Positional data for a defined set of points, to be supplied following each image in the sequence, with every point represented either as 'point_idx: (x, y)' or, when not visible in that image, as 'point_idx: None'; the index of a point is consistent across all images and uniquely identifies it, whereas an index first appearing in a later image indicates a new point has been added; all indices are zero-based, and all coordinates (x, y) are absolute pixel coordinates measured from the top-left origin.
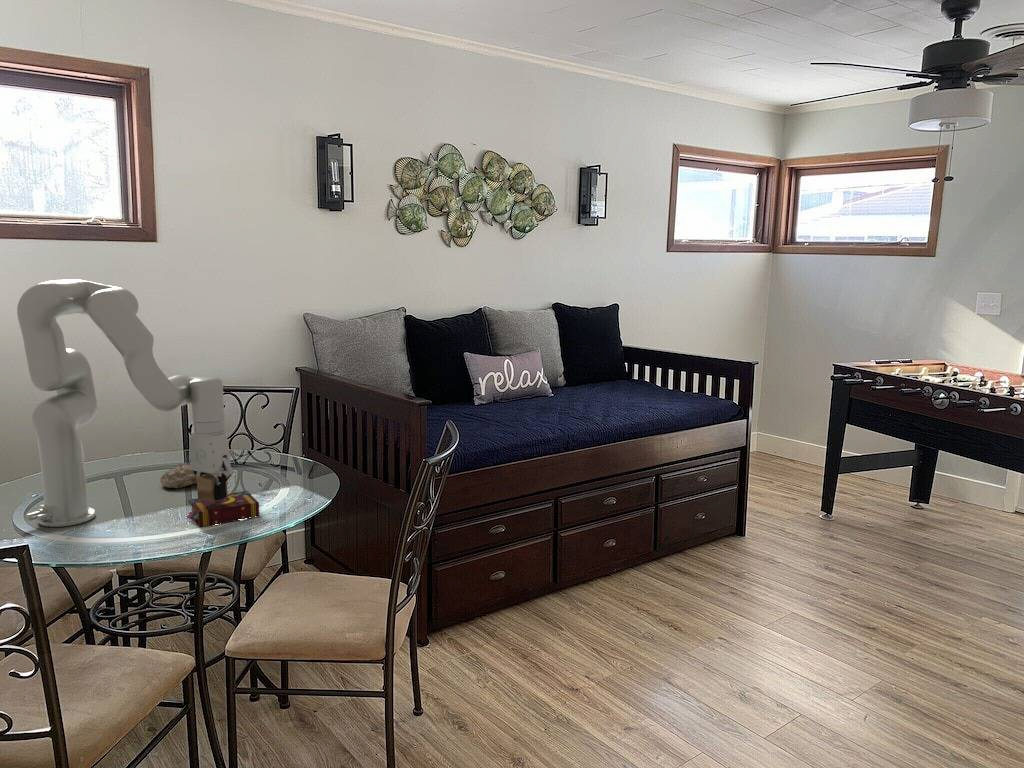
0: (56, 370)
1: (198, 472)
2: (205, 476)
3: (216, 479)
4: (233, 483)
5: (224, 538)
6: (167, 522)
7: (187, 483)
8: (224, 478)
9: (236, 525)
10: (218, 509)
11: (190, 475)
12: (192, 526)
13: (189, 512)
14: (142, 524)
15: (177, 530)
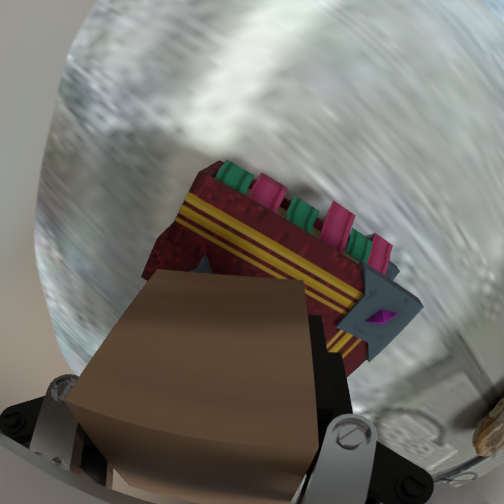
0: None
1: (336, 500)
2: (229, 469)
3: (57, 414)
4: (407, 456)
5: (52, 137)
6: (418, 150)
7: (498, 407)
8: (6, 409)
9: (118, 257)
10: (147, 265)
11: (499, 427)
12: (268, 156)
13: (396, 269)
14: (480, 96)
15: (290, 81)
